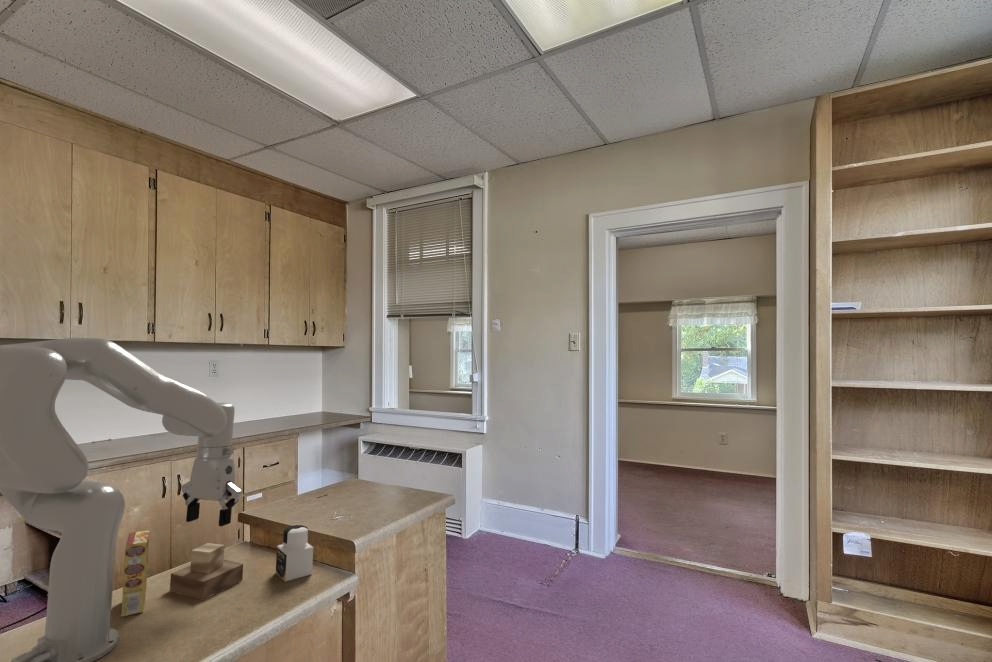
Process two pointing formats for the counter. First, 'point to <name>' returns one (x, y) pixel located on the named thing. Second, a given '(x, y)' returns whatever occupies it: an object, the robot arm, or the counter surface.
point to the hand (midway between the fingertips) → (208, 522)
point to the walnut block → (206, 580)
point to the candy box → (135, 573)
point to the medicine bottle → (294, 554)
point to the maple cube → (207, 558)
